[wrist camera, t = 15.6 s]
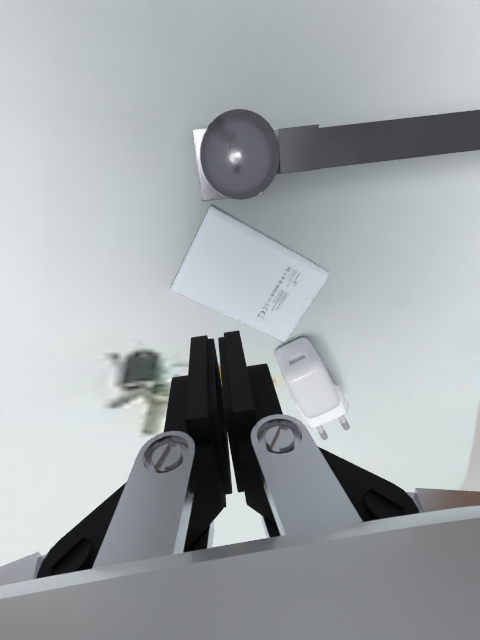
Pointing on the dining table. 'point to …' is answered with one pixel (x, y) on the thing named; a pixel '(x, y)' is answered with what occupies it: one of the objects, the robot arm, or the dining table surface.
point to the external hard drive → (248, 276)
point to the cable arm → (321, 146)
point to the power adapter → (311, 385)
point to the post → (205, 186)
